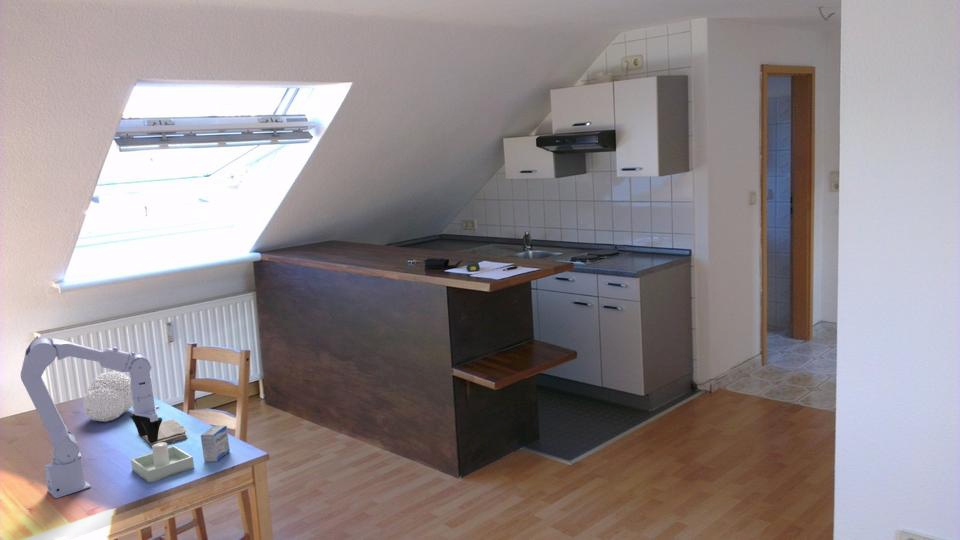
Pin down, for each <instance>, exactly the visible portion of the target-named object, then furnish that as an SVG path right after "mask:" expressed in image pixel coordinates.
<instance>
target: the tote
mask: <svg viewBox="0 0 960 540" xmlns="http://www.w3.org/2000/svg"><path fill="white" fill-rule="evenodd" d="M168 453H169V461H170V464H167V465H164V466H161V467H158V468H155V465H154V457H153V452H150V453H148V454H144V455H140V456H137V457H135V458H132V459H130V463H131V469H132V471H133V472H134V473H135V474H136V475H138V476H139V477H140V478H142V479H143V480H145V481H146V482H147V483H149V484H151V483H154V482H157V481H160V480H163V479H166V478H168V477H171V476H174V475H178V474H180V473H183V472H186V471H189V470H193V469H194V468H195V463H194V457H193V456H192V455H190V454H189V453H187V452H186V451H184V450H182V448H179V447H177V446H176V445H173V446H169V447H168Z"/></svg>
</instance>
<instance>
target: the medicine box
mask: <svg viewBox="0 0 960 540" xmlns="http://www.w3.org/2000/svg"><path fill="white" fill-rule="evenodd" d="M200 440H201V446H202V447H201V448H202V454H203V455H202V456H203V461H204V462H208V463H209V462H211V463H212V462H214V463H216V462H217V461H218V462H219V461H220V460H222V458H224V457H225V456H226V455H228V453H229V452H231V450H230V444H229V443H230V441H229V435H228V427H227V425H221V424H220V425H213V426H212V427H210V428H209V429H207V430H206V431H205V432H203V433H202V434H200ZM224 455H225V456H224ZM218 462H217V463H218Z"/></svg>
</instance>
